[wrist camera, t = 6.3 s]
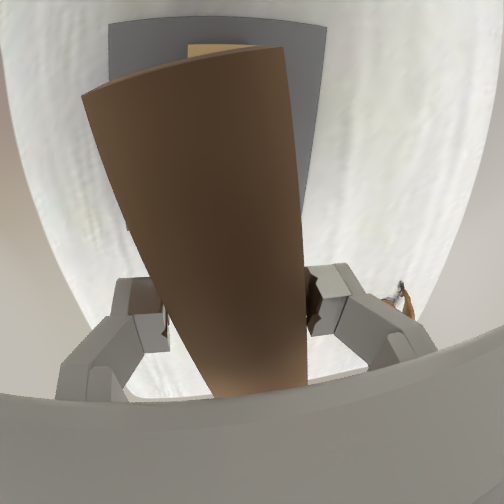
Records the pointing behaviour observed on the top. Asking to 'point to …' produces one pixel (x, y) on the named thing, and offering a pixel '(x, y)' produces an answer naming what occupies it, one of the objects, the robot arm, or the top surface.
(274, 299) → the lintel
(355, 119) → the top surface
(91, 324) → the top surface
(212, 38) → the mat
